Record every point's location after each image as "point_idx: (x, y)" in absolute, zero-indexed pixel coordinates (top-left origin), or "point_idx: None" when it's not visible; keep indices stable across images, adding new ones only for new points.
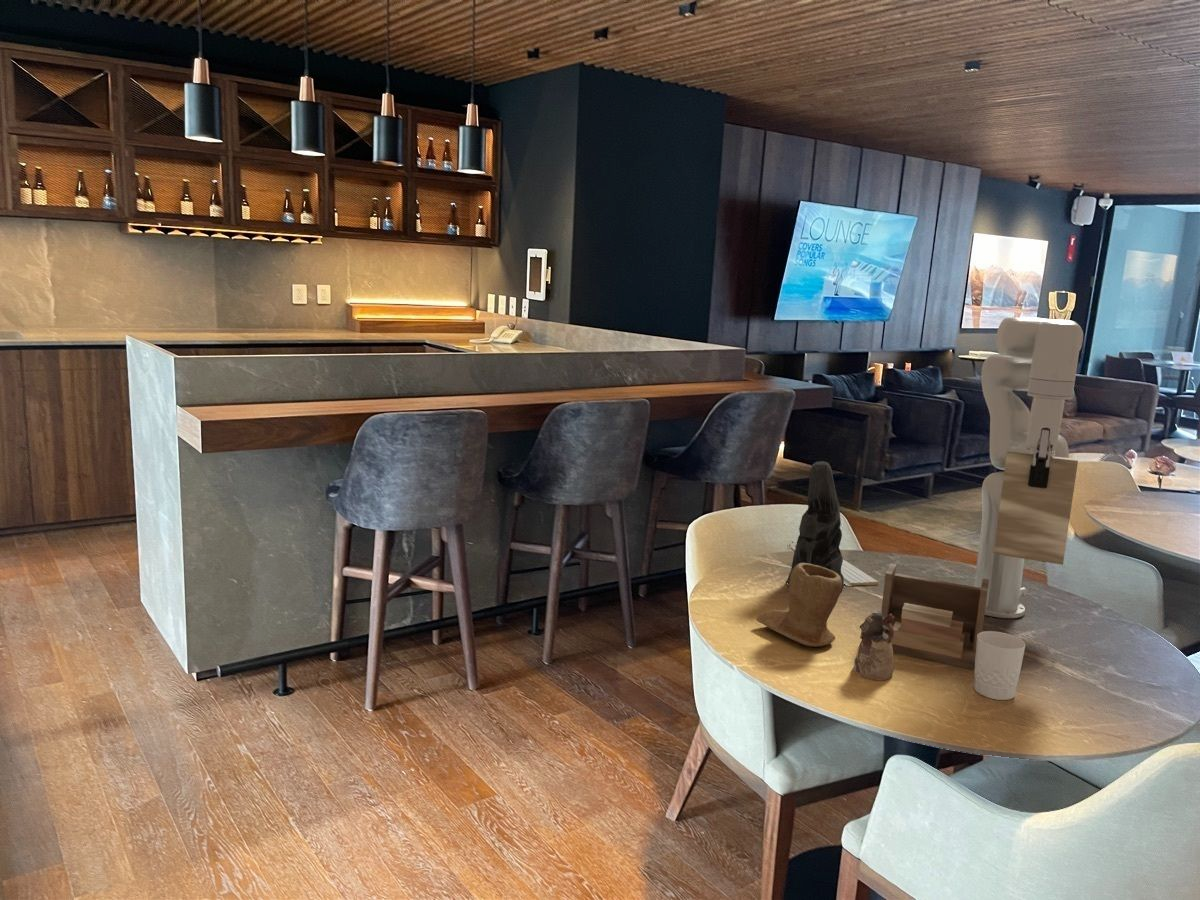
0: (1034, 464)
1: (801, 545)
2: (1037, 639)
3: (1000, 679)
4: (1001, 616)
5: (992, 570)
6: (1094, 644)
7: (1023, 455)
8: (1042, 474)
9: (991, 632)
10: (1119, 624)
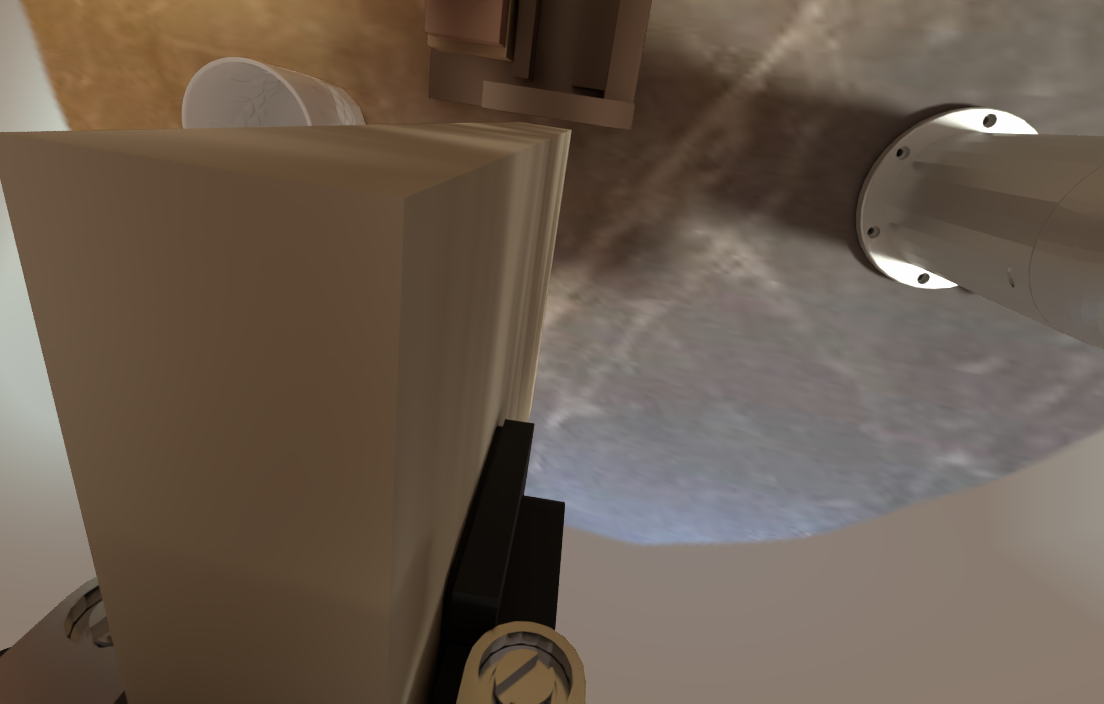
0: (81, 609)
1: None
2: (714, 286)
3: None
4: (857, 212)
5: (980, 189)
6: (722, 408)
7: (115, 577)
8: None
9: (303, 110)
10: (878, 490)
